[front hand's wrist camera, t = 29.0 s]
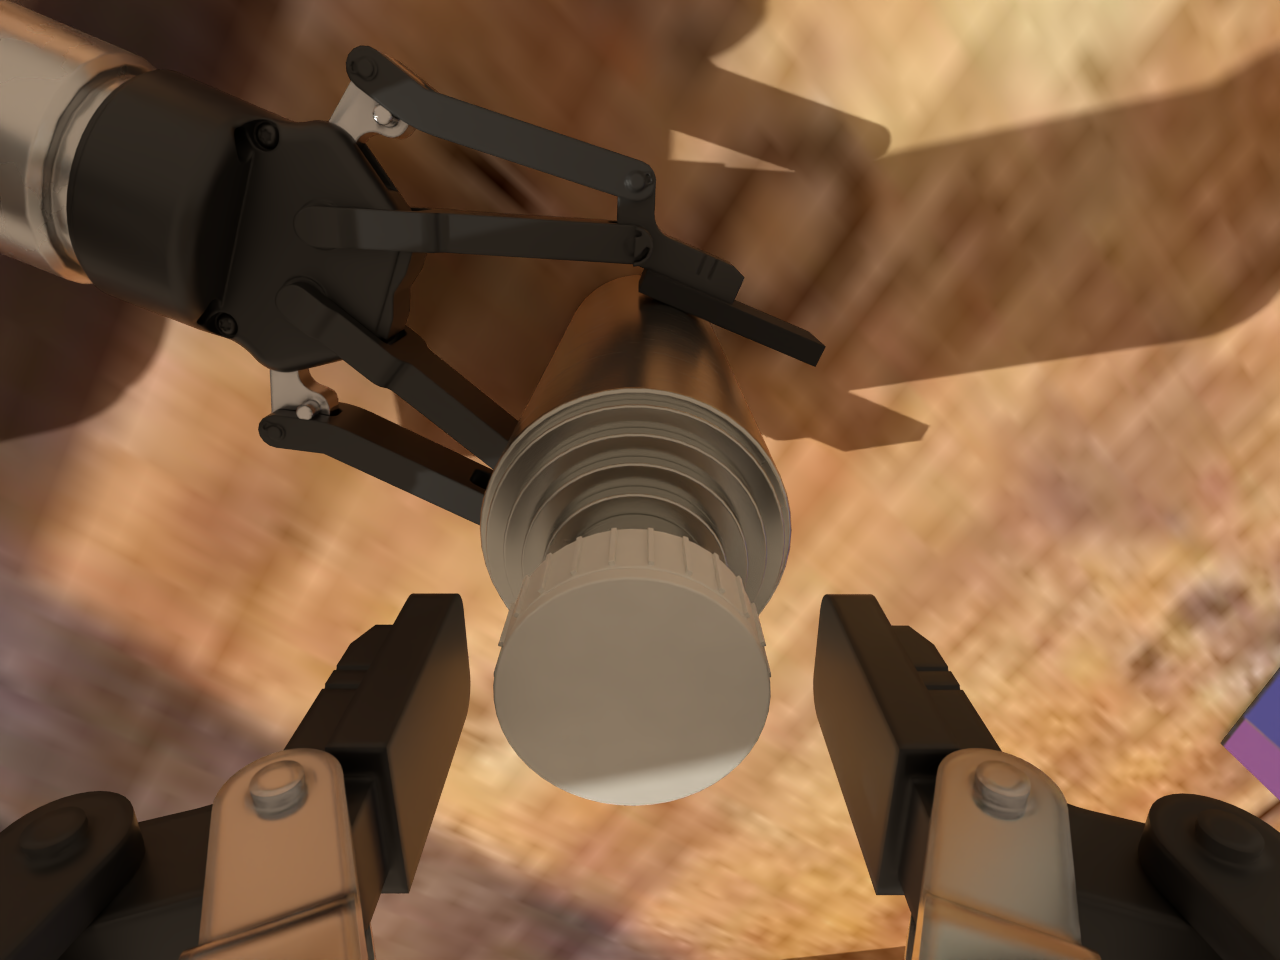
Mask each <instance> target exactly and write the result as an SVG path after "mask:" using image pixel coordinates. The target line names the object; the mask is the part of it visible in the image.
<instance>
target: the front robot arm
mask: <svg viewBox="0 0 1280 960" xmlns="http://www.w3.org/2000/svg"><path fill="white" fill-rule="evenodd" d="M813 691H814V703H815V709H816V714H817V718H818V721H819V724H820V727H821V730H822V733H823V736H824V739H825V742H826V745H827V748H828V751H829V754H830V757H831V760H832V763H833V766H834V769H835V772H836V775H837V778H838V781H839V784H840V787H841V790H842V793H843V796H844V799H845V802H846V805H847V808H848V811H849V814H850V817H851V820H852V823H853V826H854V829H855V832H856V835H857V838H858V841H859V844H860V847H861V850H862V853H863V856H864V859H865V862H866V865H867V868H868V871H869V875H870V878H871V881H872V884H873V887H874V890H875V893H876V895H905V898H906V900H907V903H908V906H909V908H910V911H911V917H910V923H909V928H908V934H907V940H906V948H905V955H904V960H1280V833H1279V832H1278V831H1277V830H1275V829H1274V828H1273V827H1272V826H1270V825H1269V824H1267V823H1266V822H1264V821H1263V820H1261V819H1259V818H1258V817H1256V816H1254V815H1252V814H1250V813H1249V812H1247V811H1245V810H1243V809H1240V808H1238V807H1236V806H1234V805H1231V804H1229V803H1226V802H1223V801H1220V800H1217V799H1214V798H1210V797H1206V796H1201V795H1195V794H1171V795H1167V796H1164V797H1162V798H1160V799H1158V800H1157V801H1155V802H1154V803H1153V804H1152V806H1151V808H1150V811H1149V814H1148V817H1147V820H1146V823H1141V822H1137V821H1133V820H1128V819H1124V818H1120V817H1115V816H1111V815H1107V814H1103V813H1098V812H1094V811H1090V810H1086V809H1083V808H1079V807H1076V806H1073V805H1070V804H1068V803H1067V802H1066V799H1065V797H1064V795H1063V793H1062V792H1061V790H1060V789H1059V787H1058V786H1057V785H1056V784H1055V783H1054V782H1053V781H1052V779H1051V778H1050V777H1048V776H1047V775H1046V774H1045V773H1044V772H1042V771H1041V770H1040V769H1038V768H1037V767H1035V766H1034V765H1032V764H1030V763H1028V762H1026V761H1024V760H1023V759H1020V758H1018V757H1016V756H1013V755H1011V754H1007V753H1004V752H1002V751H1001V749H1000V748H999V746H998V745H997V743H996V741H995V740H994V738H993V737H992V735H991V734H990V732H989V730H988V729H987V727H986V726H985V724H984V723H983V721H982V719H981V718H980V716H979V715H978V713H977V712H976V710H975V708H974V707H973V705H972V704H971V702H970V701H969V699H968V697H967V696H966V694H965V693H964V691H963V690H960V685H959V683H958V682H957V680H956V679H955V677H954V675H953V674H952V672H951V671H948V666H947V664H946V663H945V661H944V660H943V658H942V657H941V655H940V653H939V652H938V650H937V649H936V647H935V646H934V644H932V643H931V642H930V641H928V640H927V639H926V638H924V637H923V636H922V635H920V634H919V633H918V632H916V631H915V630H914V629H912V628H911V627H910V626H891V624H890V622H889V621H888V619H887V617H886V615H885V614H884V612H883V610H882V608H881V606H880V605H879V603H878V601H877V599H876V598H875V596H873V595H871V594H826V595H824V597H823V599H822V603H821V608H820V618H819V628H818V637H817V647H816V657H815V667H814V678H813ZM469 699H470V669H469V659H468V649H467V639H466V629H465V619H464V609H463V603H462V599H461V596H460V595H459V594H411V595H410V596H409V597H408V599H407V601H406V602H405V604H404V606H403V608H402V610H401V611H400V613H399V615H398V617H397V619H396V620H395V622H394V624H393V625H375V626H373V627H372V628H371V629H369V630H368V631H367V632H365V633H364V634H363V635H361V636H360V637H359V638H357V639H356V640H355V641H353V642H352V643H351V644H350V645H349V647H348V649H347V650H346V652H345V653H344V655H343V656H342V658H341V660H340V661H339V663H338V664H337V669H336V670H334V671H333V672H332V674H331V676H330V677H329V679H328V680H327V682H326V683H325V689H322V690H321V691H320V693H319V695H318V696H317V698H316V699H315V701H314V703H313V704H312V706H311V707H310V709H309V711H308V712H307V714H306V715H305V717H304V718H303V720H302V722H301V723H300V725H299V726H298V728H297V730H296V731H295V733H294V734H293V736H292V738H291V739H290V741H289V742H288V744H287V746H286V747H285V749H284V750H283V751H279V752H276V753H273V754H269V755H267V756H264V757H262V758H260V759H257V760H256V761H254V762H252V763H250V764H248V765H246V766H245V767H243V768H242V769H240V770H239V771H238V772H236V773H235V774H234V775H233V776H232V777H230V778H229V779H228V781H227V782H226V783H225V784H224V785H223V786H222V787H221V789H220V790H219V792H218V793H217V795H216V797H215V799H214V802H213V804H211V805H208V806H205V807H201V808H197V809H193V810H189V811H185V812H180V813H176V814H172V815H168V816H163V817H159V818H155V819H151V820H146V821H142V822H137V818H136V815H135V812H134V809H133V806H132V804H131V802H130V801H129V800H128V799H127V798H126V797H124V796H122V795H120V794H118V793H113V792H107V791H94V792H85V793H79V794H75V795H71V796H67V797H64V798H61V799H58V800H56V801H53V802H50V803H48V804H46V805H44V806H41V807H39V808H37V809H35V810H33V811H31V812H30V813H28V814H26V815H24V816H23V817H21V818H20V819H18V820H17V821H15V822H13V823H12V824H11V825H9V826H8V827H7V828H6V829H4V830H3V831H2V832H0V960H376V955H375V948H374V940H373V934H372V928H371V923H370V922H371V919H372V916H373V913H374V911H375V908H376V905H377V903H378V900H379V897H380V894H381V893H409V891H410V888H411V885H412V882H413V879H414V876H415V873H416V870H417V867H418V864H419V860H420V857H421V854H422V851H423V848H424V845H425V842H426V839H427V836H428V833H429V830H430V827H431V824H432V821H433V817H434V814H435V811H436V808H437V805H438V802H439V799H440V796H441V793H442V790H443V787H444V784H445V781H446V778H447V774H448V771H449V768H450V765H451V762H452V759H453V756H454V753H455V750H456V747H457V744H458V741H459V738H460V735H461V731H462V728H463V725H464V722H465V719H466V716H467V712H468V707H469Z"/></svg>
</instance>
